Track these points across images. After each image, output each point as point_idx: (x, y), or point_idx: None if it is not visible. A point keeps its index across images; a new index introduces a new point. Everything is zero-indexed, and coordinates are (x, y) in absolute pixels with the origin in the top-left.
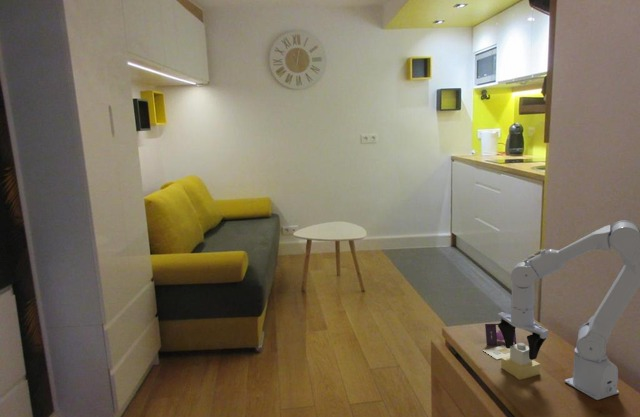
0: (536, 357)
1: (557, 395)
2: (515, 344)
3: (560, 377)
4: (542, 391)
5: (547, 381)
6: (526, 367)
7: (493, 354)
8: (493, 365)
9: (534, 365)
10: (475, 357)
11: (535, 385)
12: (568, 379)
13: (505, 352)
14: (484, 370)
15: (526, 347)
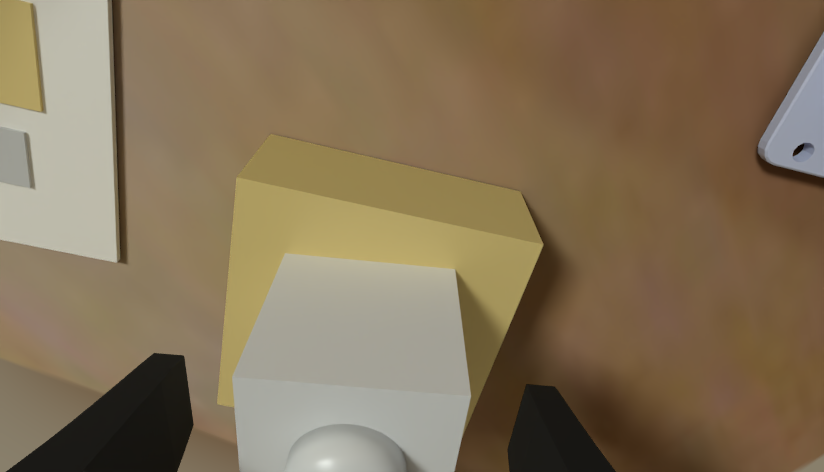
0: (559, 398)
1: (742, 356)
2: (239, 456)
3: (695, 94)
4: (639, 383)
5: (619, 248)
6: (477, 391)
7: (18, 210)
8: (186, 345)
9: (511, 312)
10: (8, 347)
11: (569, 356)
12: (796, 118)
13: (25, 79)
14: (213, 434)
15: (393, 427)
